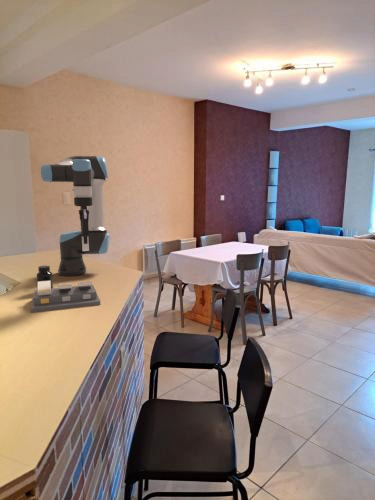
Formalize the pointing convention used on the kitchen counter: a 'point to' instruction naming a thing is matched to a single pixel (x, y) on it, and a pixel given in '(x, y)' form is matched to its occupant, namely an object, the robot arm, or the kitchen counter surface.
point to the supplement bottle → (44, 275)
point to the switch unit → (65, 298)
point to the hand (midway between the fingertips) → (85, 250)
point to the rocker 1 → (44, 288)
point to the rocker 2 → (65, 285)
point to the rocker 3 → (85, 283)
